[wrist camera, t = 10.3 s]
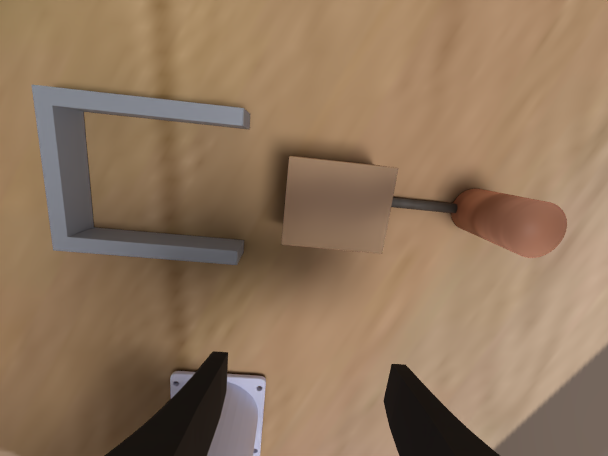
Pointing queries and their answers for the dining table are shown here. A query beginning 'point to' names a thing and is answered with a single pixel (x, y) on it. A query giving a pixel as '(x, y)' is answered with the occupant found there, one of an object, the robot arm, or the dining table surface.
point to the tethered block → (379, 199)
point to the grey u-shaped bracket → (76, 184)
